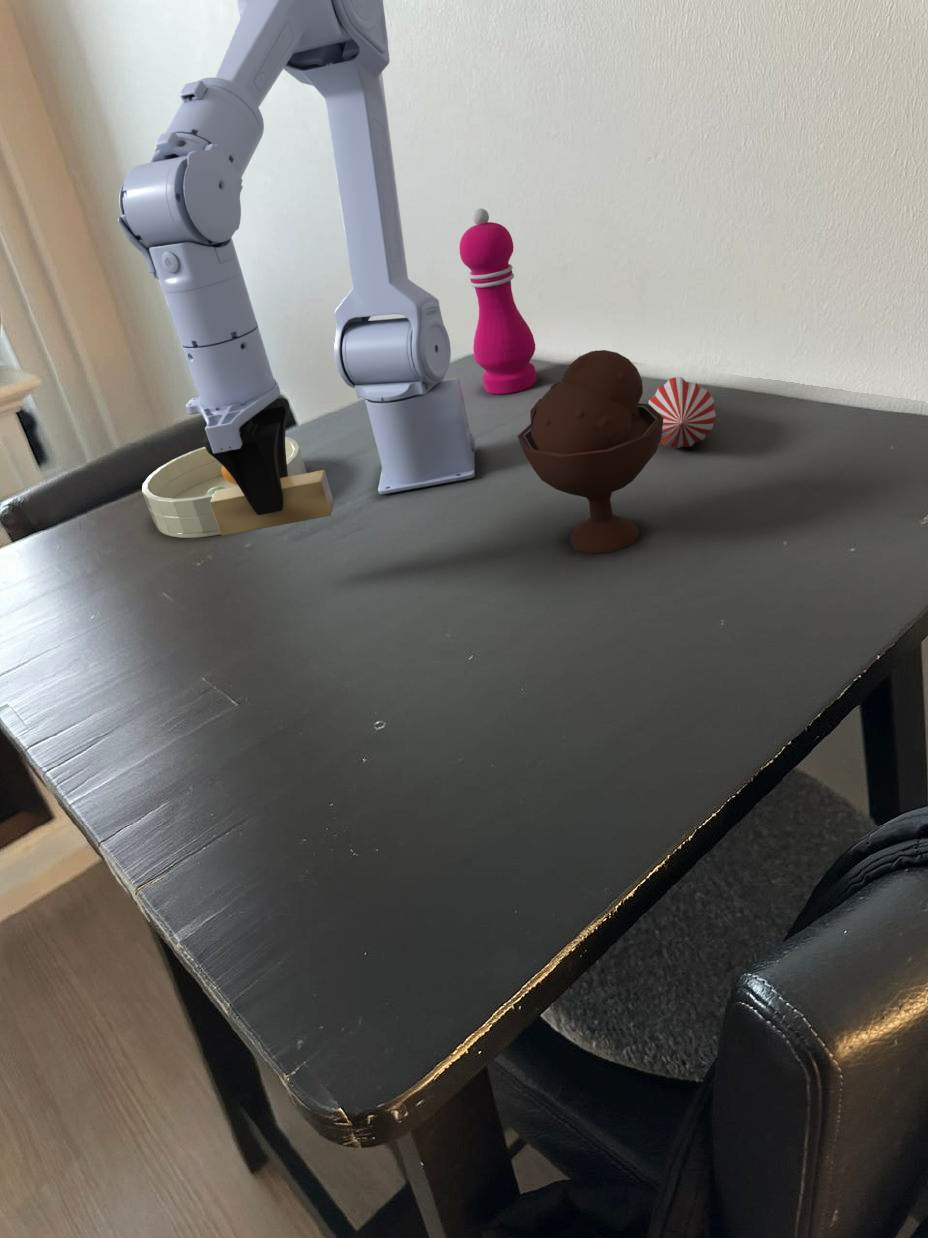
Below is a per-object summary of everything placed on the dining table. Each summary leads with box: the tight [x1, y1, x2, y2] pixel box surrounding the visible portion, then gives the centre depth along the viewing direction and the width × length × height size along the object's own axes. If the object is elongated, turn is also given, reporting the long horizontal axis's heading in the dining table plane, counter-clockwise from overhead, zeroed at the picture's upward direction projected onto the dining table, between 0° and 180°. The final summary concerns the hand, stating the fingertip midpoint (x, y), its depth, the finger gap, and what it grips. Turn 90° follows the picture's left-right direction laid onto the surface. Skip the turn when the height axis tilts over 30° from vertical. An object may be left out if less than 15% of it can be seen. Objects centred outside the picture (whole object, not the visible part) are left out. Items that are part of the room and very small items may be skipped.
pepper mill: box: [458, 208, 538, 395], centre depth 116 cm, size 7×7×20 cm
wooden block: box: [210, 469, 335, 537], centre depth 81 cm, size 9×2×3 cm, turn 90°
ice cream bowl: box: [517, 349, 663, 554], centre depth 79 cm, size 11×11×15 cm
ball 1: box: [206, 486, 226, 495], centre depth 102 cm, size 3×3×3 cm
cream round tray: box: [141, 436, 308, 539], centre depth 105 cm, size 16×16×4 cm
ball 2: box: [221, 465, 237, 484], centre depth 109 cm, size 3×3×3 cm
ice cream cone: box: [648, 376, 717, 449], centre depth 97 cm, size 6×6×20 cm
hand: (273, 503), depth 81 cm, fingers closed on wooden block, 2 cm apart
